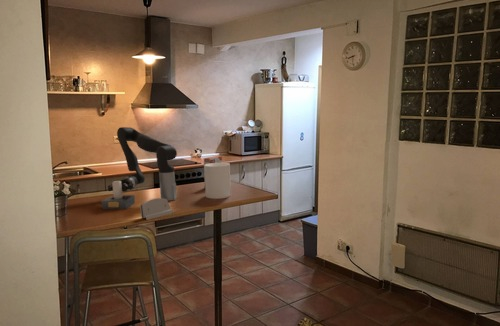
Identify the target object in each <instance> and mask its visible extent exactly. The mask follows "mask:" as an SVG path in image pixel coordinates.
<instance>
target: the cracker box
mask: <svg viewBox="0 0 500 326" xmlns="http://www.w3.org/2000/svg"><path fill="white" fill-rule="evenodd" d="M209 163H223V156H221V155H212V156H209V157H203V166H204V165H205V164H209ZM203 175H204V177H203V179H204V182H205V168H204V167H203Z"/></svg>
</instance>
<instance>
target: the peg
mask: <svg viewBox="0 0 500 326" xmlns="http://www.w3.org/2000/svg"><path fill="white" fill-rule="evenodd" d="M111 184H113V190H112V194H113V195H114V199H123V195H124V194H123V191H122V183H121V181H120V180H115V181H112V182H111Z"/></svg>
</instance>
